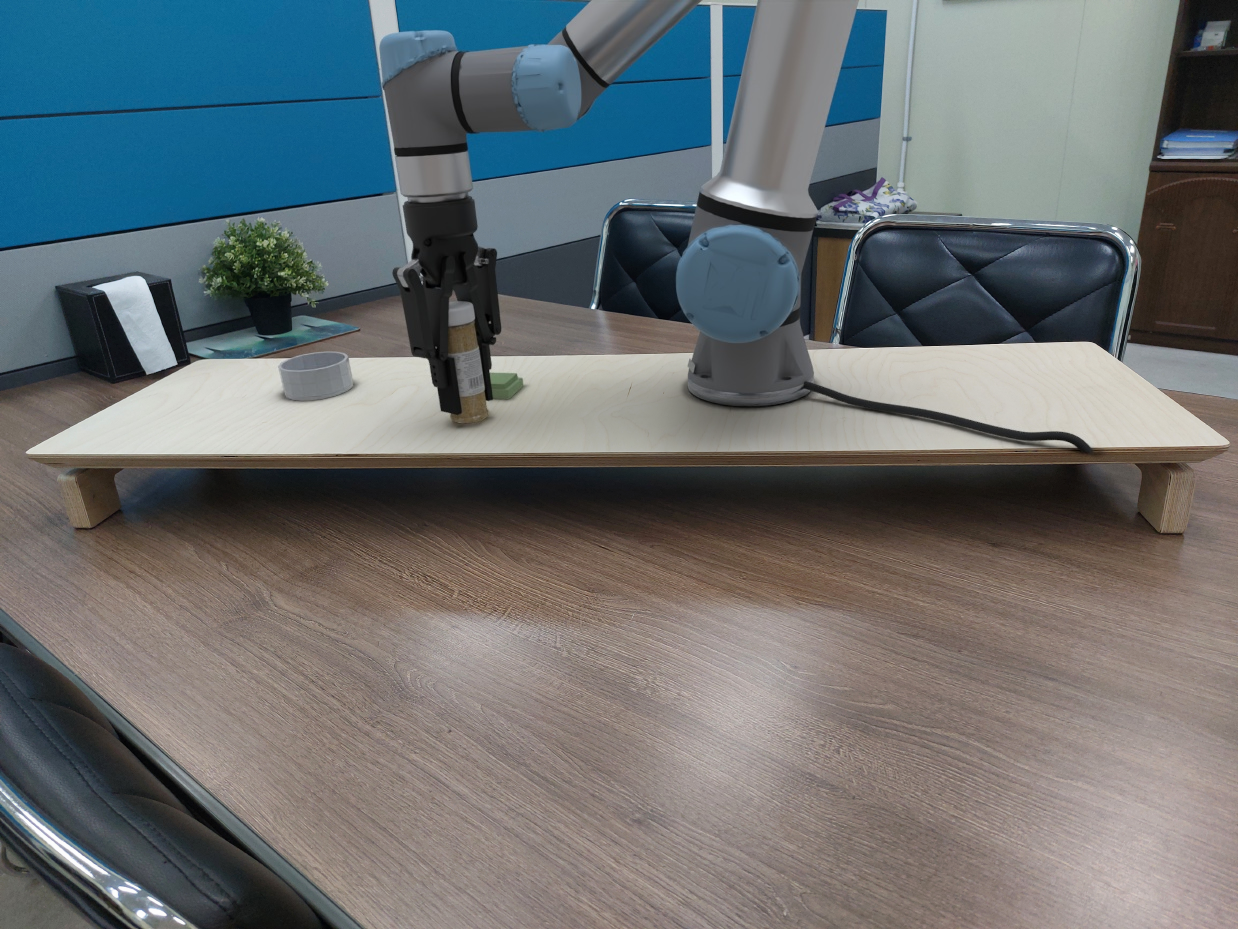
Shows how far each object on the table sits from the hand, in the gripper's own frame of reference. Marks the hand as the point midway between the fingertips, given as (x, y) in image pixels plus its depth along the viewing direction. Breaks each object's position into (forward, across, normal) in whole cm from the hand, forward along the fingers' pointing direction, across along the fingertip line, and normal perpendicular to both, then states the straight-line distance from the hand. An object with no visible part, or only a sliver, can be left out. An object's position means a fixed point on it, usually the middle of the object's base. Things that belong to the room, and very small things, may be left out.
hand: (467, 404), depth 97 cm
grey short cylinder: (+2, +1, -27) cm, 27 cm away
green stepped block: (+2, -9, -5) cm, 10 cm away
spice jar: (+2, 0, 0) cm, 2 cm away
